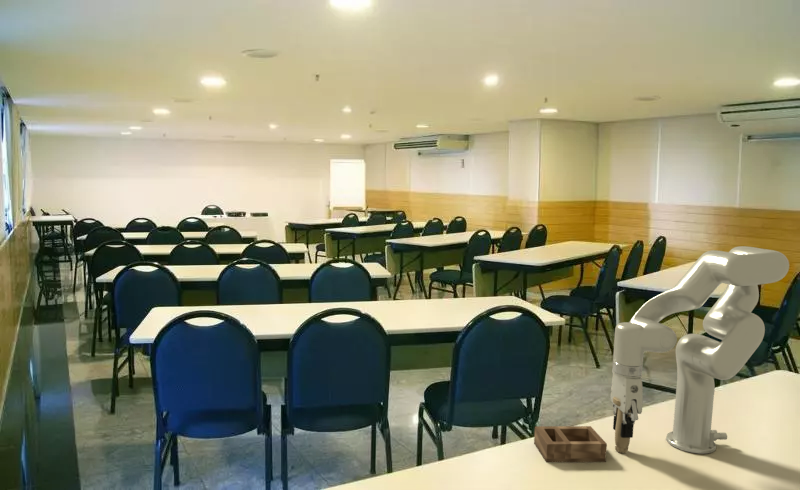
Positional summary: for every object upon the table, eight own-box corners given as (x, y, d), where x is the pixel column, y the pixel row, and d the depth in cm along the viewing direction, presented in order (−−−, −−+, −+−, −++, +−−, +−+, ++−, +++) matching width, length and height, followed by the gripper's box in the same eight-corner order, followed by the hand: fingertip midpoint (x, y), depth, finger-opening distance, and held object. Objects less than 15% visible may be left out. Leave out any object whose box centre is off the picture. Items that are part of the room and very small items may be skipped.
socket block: (589, 443, 167) (590, 426, 166) (605, 461, 156) (606, 443, 155) (534, 443, 166) (534, 426, 165) (546, 462, 155) (547, 444, 154)
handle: (637, 453, 161) (641, 400, 159) (617, 456, 159) (621, 403, 157) (624, 445, 166) (628, 394, 164) (605, 448, 163) (609, 396, 162)
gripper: (655, 379, 152) (650, 447, 154) (626, 359, 168) (622, 420, 170) (627, 379, 151) (622, 447, 153) (601, 359, 168) (597, 421, 170)
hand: (622, 432), depth 162 cm, fingers closed on handle, 3 cm apart
